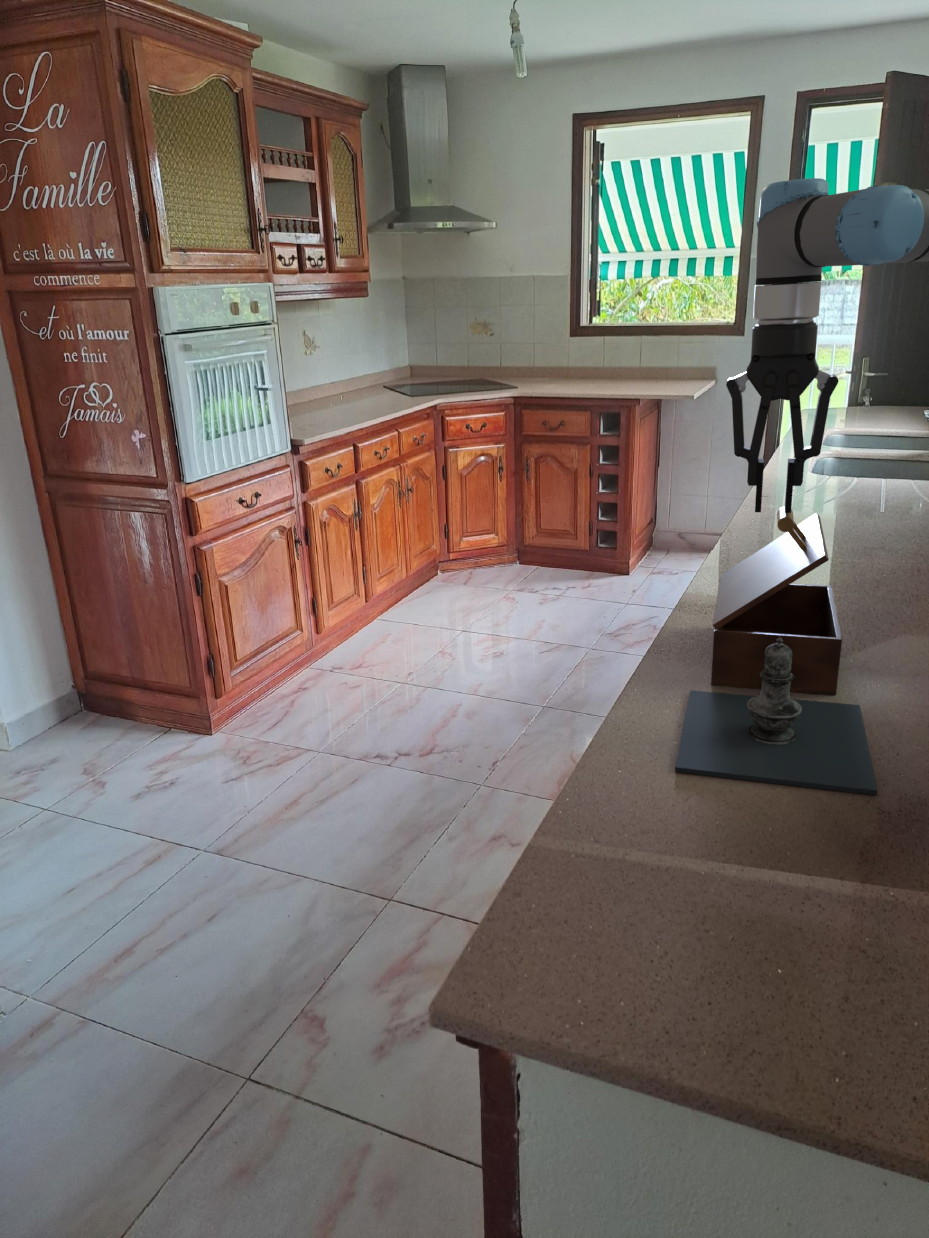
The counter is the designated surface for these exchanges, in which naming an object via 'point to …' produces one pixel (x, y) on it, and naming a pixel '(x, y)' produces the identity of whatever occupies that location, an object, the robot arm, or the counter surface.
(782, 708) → the salt shaker
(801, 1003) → the counter surface
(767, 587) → the bread box lid
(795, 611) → the bread box
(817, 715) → the mat
